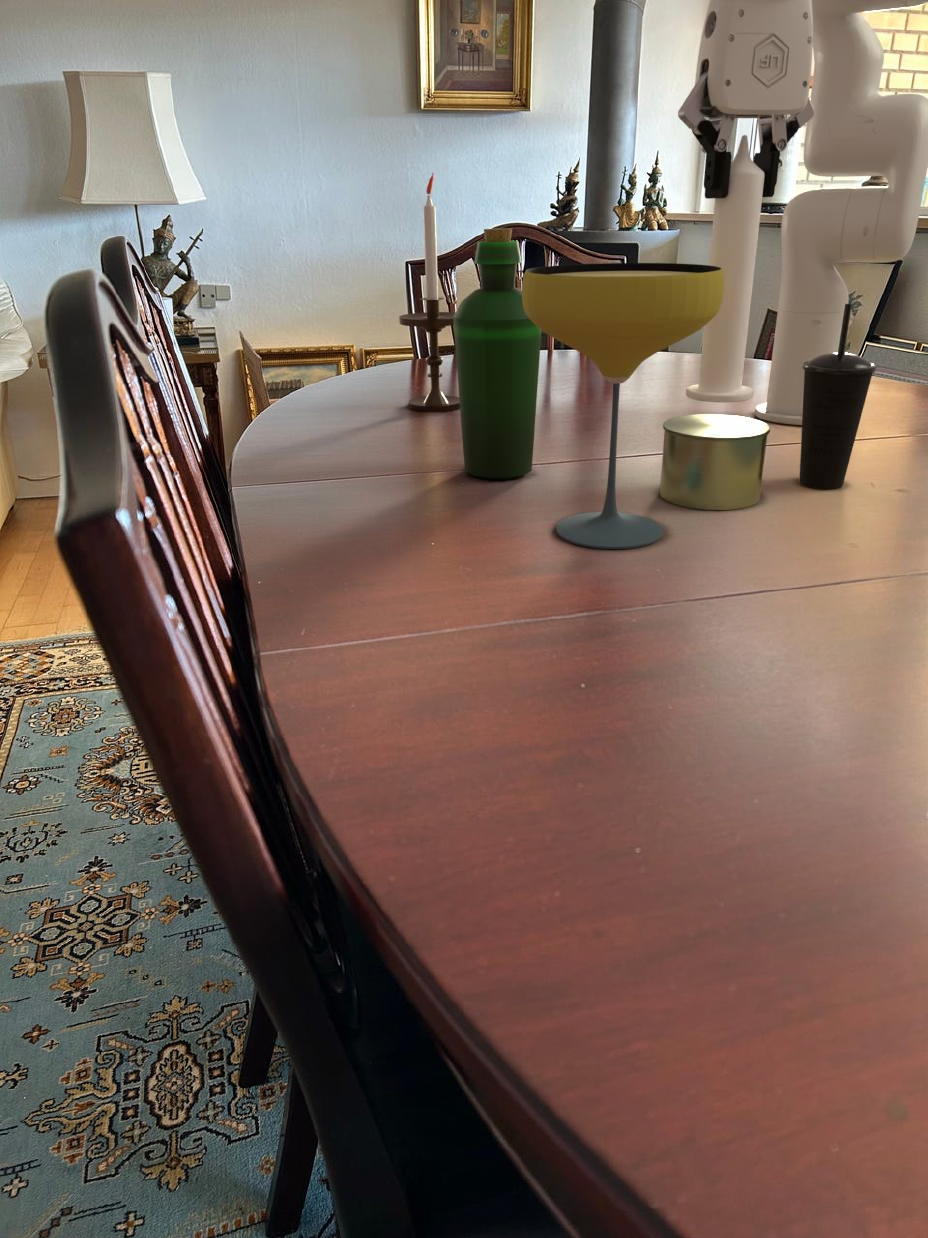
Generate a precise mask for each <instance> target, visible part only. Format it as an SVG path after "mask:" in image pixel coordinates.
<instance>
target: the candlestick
mask: <svg viewBox="0 0 928 1238" xmlns="http://www.w3.org/2000/svg"><path fill="white" fill-rule="evenodd" d="M433 183H434V172H431V177H430V178H429V180H428V184H427V186H426V190H425V192H426V195H427V196H426V201H425V205H423V206H422V209H423V212H422V213H423V215H422V216H423V236H424V238H423V239H424V261H425V262H424V265H425V266H424V267H425V294H426V297H421V298H420V300H421V301H425V309H426V311H425V312H413V313H406V314H401V315H399V316H398V320H399V321H398V322H399V325H401V326H407V327H415V328H416V327H417V328H419V327H420V328H421V329H422V330H424V332H425V333H428V334H429V356H427V357H426V358H425V362H426V365H427V366H429V373H428V374H427V377H428V378H430V390H429V392H428V394H427V395H423V396H417V397H414V398H410V399H409V400H408V408H409V409H410V410H413V411H415V412H416V411H418V412H425V413H433V412H434V413H435V412H436V413H438V412H439V413H440V412H450V411H456V410H460V400H459V396H455V395H446V394H444V393H443V391H442V390H441V388H440V378H442V377H443V373H441V372H440V366H442V364H443V362H444V359H443V357H442V356H440V355H439V333H440V332H442V331H443V329H445V328H446V327H450V326H452V327H453V326H454V321H453V316H454V315H455V313H456V311H455V312H454V311H440V301H441V300H445V299H446V298H445V297H439V283H438V282H439V281H438V279H439V278H438V248H437V215H436V205H433V200H432V196H431V194H432V190H433Z"/></svg>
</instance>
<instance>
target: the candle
mask: <svg viewBox="0 0 928 1238" xmlns="http://www.w3.org/2000/svg"><path fill="white" fill-rule="evenodd" d="M740 138H741V139H740V142H739V145H738V148H737V151H736V154H735V156H734V158H733V160H731V168H730V179H729V189H728V195H727V197H726V198H714V205H713V207H714V208H713V217H712V230H711V239H710V240H711V242H710V253H709V264H708V265H710V266H716V267H720V268H722V270H723V273H724V293H723V300H722V304H721V307H720V309H719V311H718V313H717V314H716V315H715V317H714V318H713V319H711V320H710V321H709V322H708V323H707V324H706V325H705V326H703V329H702V330H703V332H702V342H701V343H702V344H701V354H700V365H699V366H700V367H699V375H698V376H699V378H698V383H697V384H692V385H689V386H687V387H686V389H685V396H686V397H687V398H688V399H691V400H695V401H700V402H707V403H741V402H746V401H749V400H752V398H753V397H754V392H755V391H754V389H753V388H751V387H749V386H747V385H743V379H744V370H745V359H746V350H747V340H748V334H749V333H748V332H749V323H750V313H751V305H752V296H753V295H752V294H753V286H754V278H755V275H754V274H755V267H756V258H757V249H758V240H759V231H760V223H761V214H762V213H761V212H762V203H763V197H762V195H763V186H764V176H765V174H764V172H763V171H762V170H761V169H760V168H759V167H758V166H757V165H756V164H755V163H754V162H753V160H752V158H751V157H752V156H751V154H750V149H749V138H748V135H746V134H742V136H741V137H740Z"/></svg>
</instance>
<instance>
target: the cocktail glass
mask: <svg viewBox="0 0 928 1238" xmlns="http://www.w3.org/2000/svg"><path fill="white" fill-rule="evenodd" d="M523 273H524V274H523V276H522V284H521V290H522V302H523V307H524V311H525V313H526V315H527V316H528V317H529V319H530V320H531V321H532V322H533V323H534V324H535V325H536V326H537V327H539V328H540V330H541V332H544V333H545V334H547V336H549V337H551V338H553V339H555V340H556V341H558V342H560V343H562V344H564V345H566V346H567V347H569V348H572V349H573V350H575V351H576V352H578V353H580V354H582V355H583V356H585V357H586V358H588V359H589V360H591V362H593V363H594V364H595V366H596V367H597V369H598V371H599V372H600V374H601V375H602V376H603V378H604V379H605V380H606V381H607V382H608V383H610V384H612V402H611V423H610V439H609V441H610V442H609V455H608V456H609V458H608V471H607V473H608V474H607V483H606V485H607V486H606V493H605V499H604V503H603V504H604V505H603V508H602V511H593V512H592V511H591V512H584V513H579V514H574V515H570V516H568V517H565V518H563V519H561V520H560V521H558V523H557V524H556V526H555V527H556V528H555V531H556V533H557V534H558V537H560V538H561V539H563V541H566V542H568V543H571V544H574V545H578V546H581V547H587V548H591V549H600V550H602V549H603V550H627V549H637V548H641V547H645V546H648V545H651V544H653V543H656V542H658V541H659V540H660V539H661V538H662V537H663V534H664V529H663V526H661V524H660V523H658V522H657V521H656V520H653V519H651V518H648V517H647V516H642V515H639V514H633V513H629V512H627V513H626V512H619V511H618V506H617V498H616V497H617V496H616V495H617V494H616V493H617V492H616V477H617V476H616V475H617V450H618V449H617V447H618V426H619V425H618V424H619V405H620V404H619V403H620V390H621V389H620V388H621V384H623V383H625V382H627V381H628V380H630V378H631V376H632V375H633V374H634V373H635V371H636V370H637V369H638V367H640V365H641V364H642V363H643V362H645V361H646V360H647V359H649V358H651V357H652V356H653V355H655V354H657V353H659V352H660V351H663V350H665V349H666V348H669V347H671V346H673V345H675V344H677V343H679V342H681V341H683V340H684V339H686V338H688V337H690V336H693V334H695V333H696V332H698V331H700V330H702V329H703V328H704V326H705V325H706V324H707V323H708V322H709V321H710V320H711V319H713V318H714V317H715V315H716V314H717V313H718V311H719V309H720V307H721V304H722V300H723V293H724V273H723V270H722V268H720V267H716V266H710V265H709V264H698V263H697V264H696V263H677V262H676V263H675V262H604V263H577V264H576V263H575V264H559V265H548V266H547V265H546V266H539V267H532V268H527V269H526V270H525V272H523Z"/></svg>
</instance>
